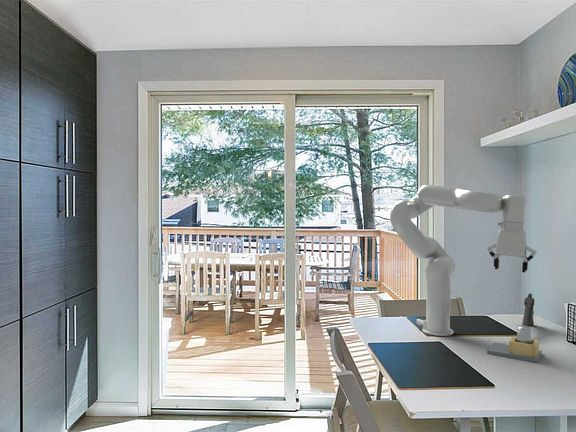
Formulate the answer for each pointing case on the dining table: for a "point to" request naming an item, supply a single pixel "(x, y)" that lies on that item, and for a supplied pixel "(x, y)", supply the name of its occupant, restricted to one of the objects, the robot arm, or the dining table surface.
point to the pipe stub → (524, 334)
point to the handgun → (528, 311)
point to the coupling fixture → (517, 350)
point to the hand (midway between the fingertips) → (510, 270)
